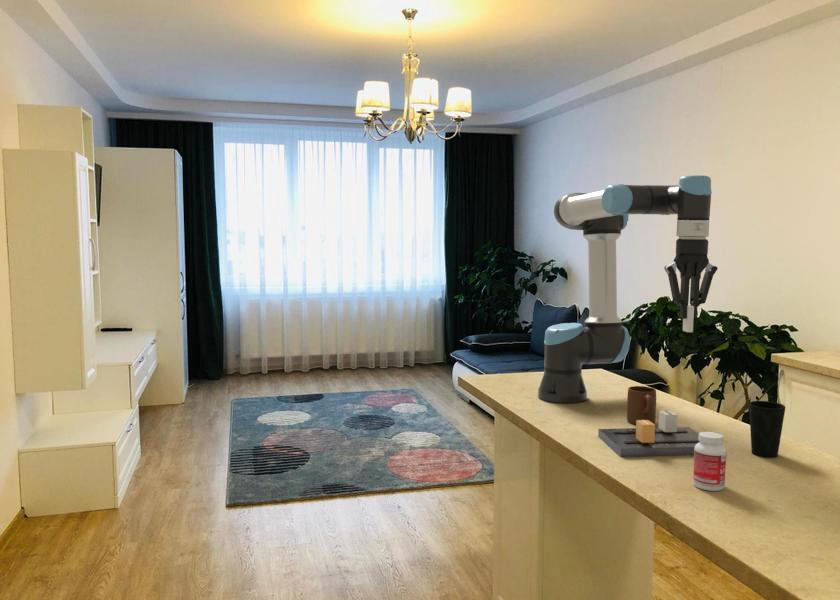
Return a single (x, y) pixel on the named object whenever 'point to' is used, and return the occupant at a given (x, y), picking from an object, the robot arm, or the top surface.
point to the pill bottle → (709, 462)
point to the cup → (766, 427)
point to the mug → (641, 404)
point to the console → (663, 444)
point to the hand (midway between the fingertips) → (687, 331)
